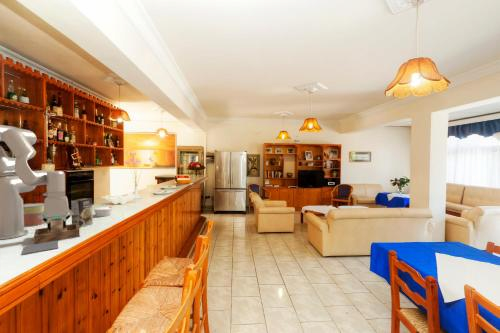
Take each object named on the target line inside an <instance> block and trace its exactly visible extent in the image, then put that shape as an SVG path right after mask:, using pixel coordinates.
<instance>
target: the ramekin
mask: <svg viewBox="0 0 500 333" xmlns="http://www.w3.org/2000/svg"><path fill="white" fill-rule="evenodd" d="M93 210H94V214H95V216H96V217H97V218H102V217H109V216H111V215H112V212H113V206H100V207H99V206H98V207H95V208H94V209H93Z"/></svg>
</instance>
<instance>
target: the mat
mask: <svg viewBox="0 0 500 333" xmlns="http://www.w3.org/2000/svg"><path fill="white" fill-rule="evenodd" d="M57 249H59V240H57V241H51V242H45V243H39V244H34V243H33V244H28V245H25V246H24V249H23V251H22V256H26V255H30V254H37V253H41V252H46V251H52V250H57Z"/></svg>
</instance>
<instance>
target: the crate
mask: <svg viewBox="0 0 500 333" xmlns="http://www.w3.org/2000/svg"><path fill="white" fill-rule="evenodd" d="M64 228H65V229H63V231H59V232H52V233H51V231H49V229H47V227H42V228H35V231H34V235H33V245H34V244H40V243H46V242H52V241H62V240H68V239H74V238H80V237H81V236H80V228H79V226H78V223H77V224H72V223H71V224H66V227H64Z"/></svg>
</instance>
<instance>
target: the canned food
mask: <svg viewBox="0 0 500 333" xmlns="http://www.w3.org/2000/svg"><path fill="white" fill-rule="evenodd" d="M23 209H24V228H25V227H27V228H28V227H31V228H32V227H38V225H39V226H43V225H45V221H43V220H41V219H39V218H38V217H39V215H40V214H41V213H42V212H43V211H44V202H40V203H39V202H38V203H30V204H28V203H27V204H23ZM42 224H43V225H42Z"/></svg>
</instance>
